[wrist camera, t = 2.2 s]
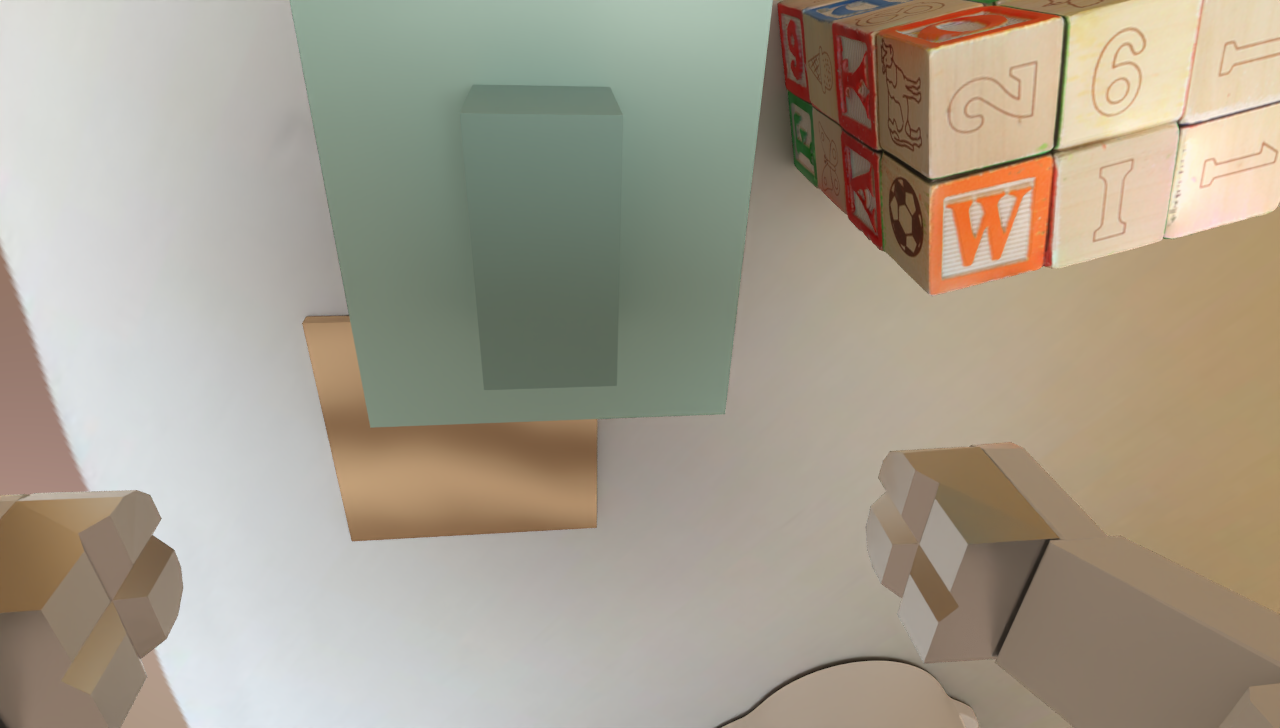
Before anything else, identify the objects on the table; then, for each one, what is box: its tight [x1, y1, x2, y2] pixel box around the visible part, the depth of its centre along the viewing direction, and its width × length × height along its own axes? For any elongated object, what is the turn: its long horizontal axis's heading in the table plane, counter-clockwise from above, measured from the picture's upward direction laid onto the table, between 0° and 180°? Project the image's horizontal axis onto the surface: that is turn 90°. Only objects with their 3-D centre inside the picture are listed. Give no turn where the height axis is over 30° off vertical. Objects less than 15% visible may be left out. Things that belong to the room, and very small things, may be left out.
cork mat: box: [302, 316, 597, 541], centre depth 33 cm, size 12×12×1 cm
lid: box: [290, 0, 773, 428], centre depth 17 cm, size 12×10×5 cm
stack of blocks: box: [778, 0, 1280, 296], centre depth 22 cm, size 21×6×12 cm, turn 102°
